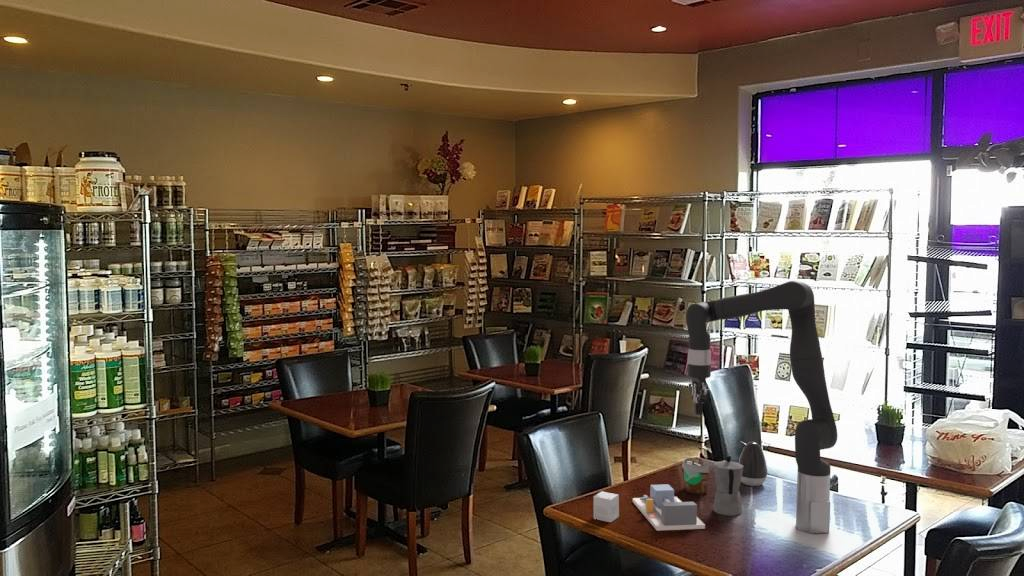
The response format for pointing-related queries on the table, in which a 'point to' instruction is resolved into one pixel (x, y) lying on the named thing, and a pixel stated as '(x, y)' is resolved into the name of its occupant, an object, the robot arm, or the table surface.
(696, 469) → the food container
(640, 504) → the bench
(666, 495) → the plunger
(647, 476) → the table surface
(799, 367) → the robot arm
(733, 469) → the coffeepot
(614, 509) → the skincare box
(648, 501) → the block
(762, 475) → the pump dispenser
